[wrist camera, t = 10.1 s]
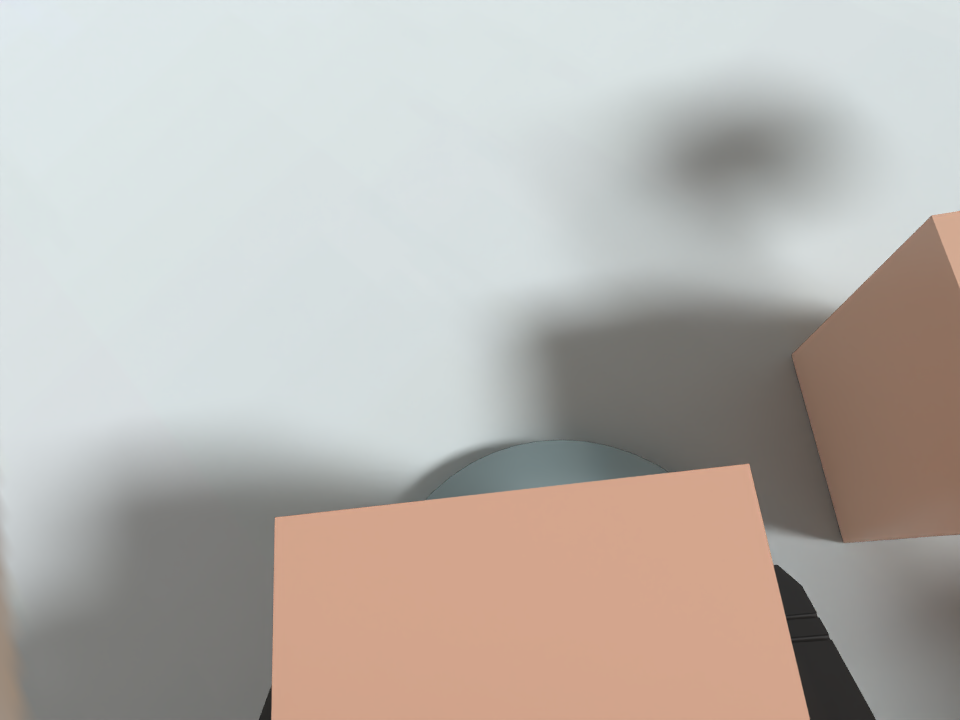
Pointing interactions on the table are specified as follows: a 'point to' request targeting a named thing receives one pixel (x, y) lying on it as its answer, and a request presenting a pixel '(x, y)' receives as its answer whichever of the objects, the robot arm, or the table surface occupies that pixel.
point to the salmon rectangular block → (537, 606)
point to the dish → (544, 468)
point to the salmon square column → (892, 393)
